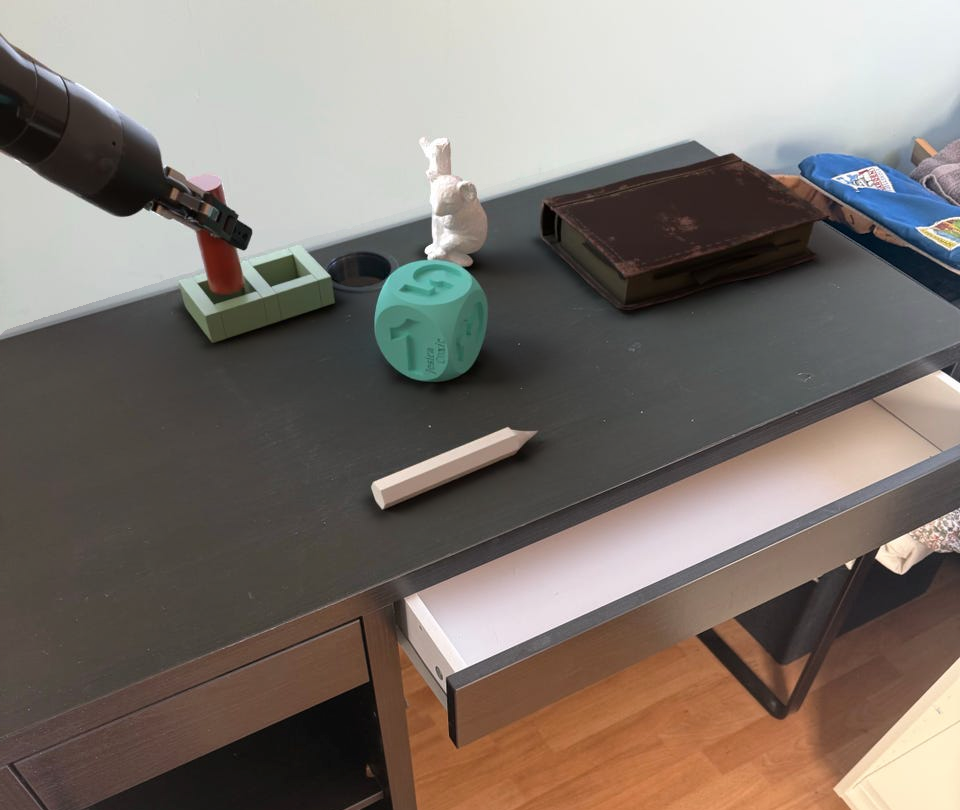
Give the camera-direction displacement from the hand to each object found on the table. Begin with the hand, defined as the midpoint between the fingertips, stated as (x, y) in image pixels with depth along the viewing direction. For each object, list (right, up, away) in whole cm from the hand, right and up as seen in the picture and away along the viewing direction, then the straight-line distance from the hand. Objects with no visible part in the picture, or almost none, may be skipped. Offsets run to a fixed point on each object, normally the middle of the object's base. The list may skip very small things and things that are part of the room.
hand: (231, 233), depth 87 cm
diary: (+46, +4, +13) cm, 48 cm away
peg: (-1, -4, +3) cm, 5 cm away
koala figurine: (+21, +2, +12) cm, 24 cm away
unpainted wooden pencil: (+22, -25, -10) cm, 35 cm away
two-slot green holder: (+1, -5, +6) cm, 8 cm away
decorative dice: (+20, -12, 0) cm, 23 cm away
